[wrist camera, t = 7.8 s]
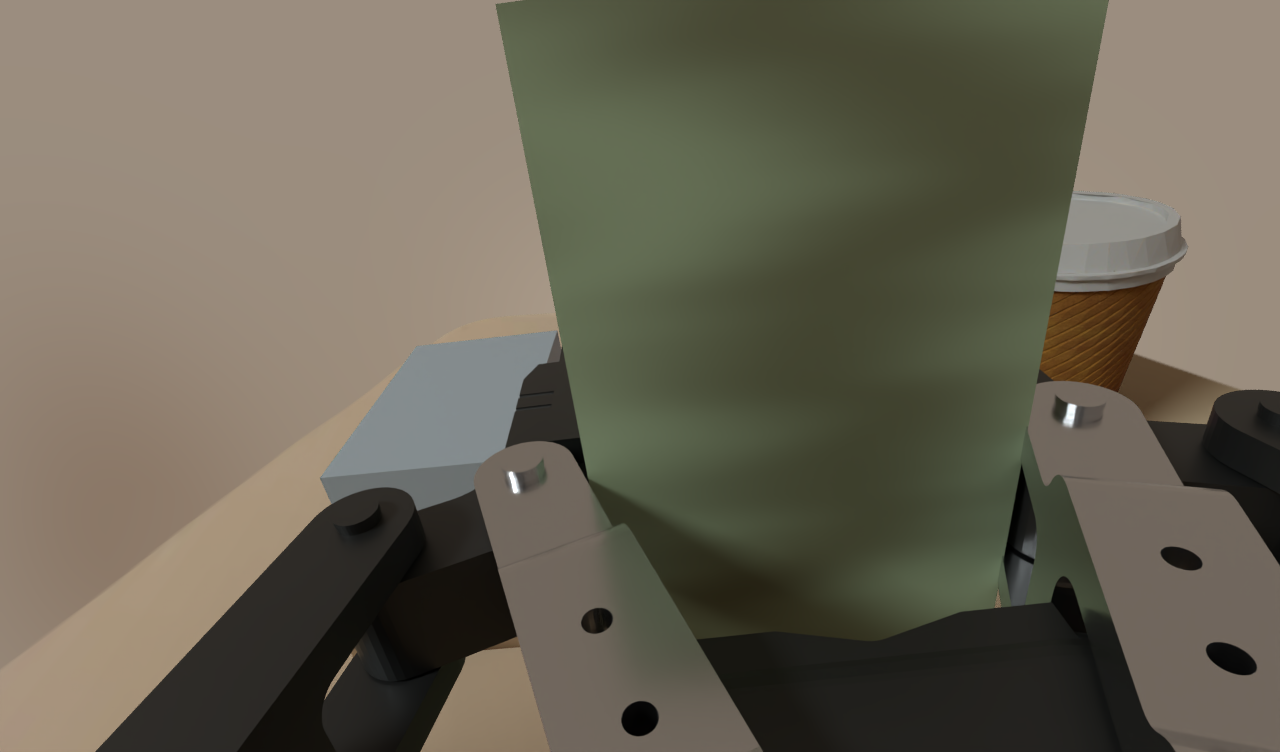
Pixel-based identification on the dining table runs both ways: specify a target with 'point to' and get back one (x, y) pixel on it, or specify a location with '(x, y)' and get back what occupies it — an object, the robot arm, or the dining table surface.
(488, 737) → the dining table surface
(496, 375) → the blue gray tower block
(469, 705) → the dining table surface
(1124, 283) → the disposable coffee cup
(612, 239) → the olive block
